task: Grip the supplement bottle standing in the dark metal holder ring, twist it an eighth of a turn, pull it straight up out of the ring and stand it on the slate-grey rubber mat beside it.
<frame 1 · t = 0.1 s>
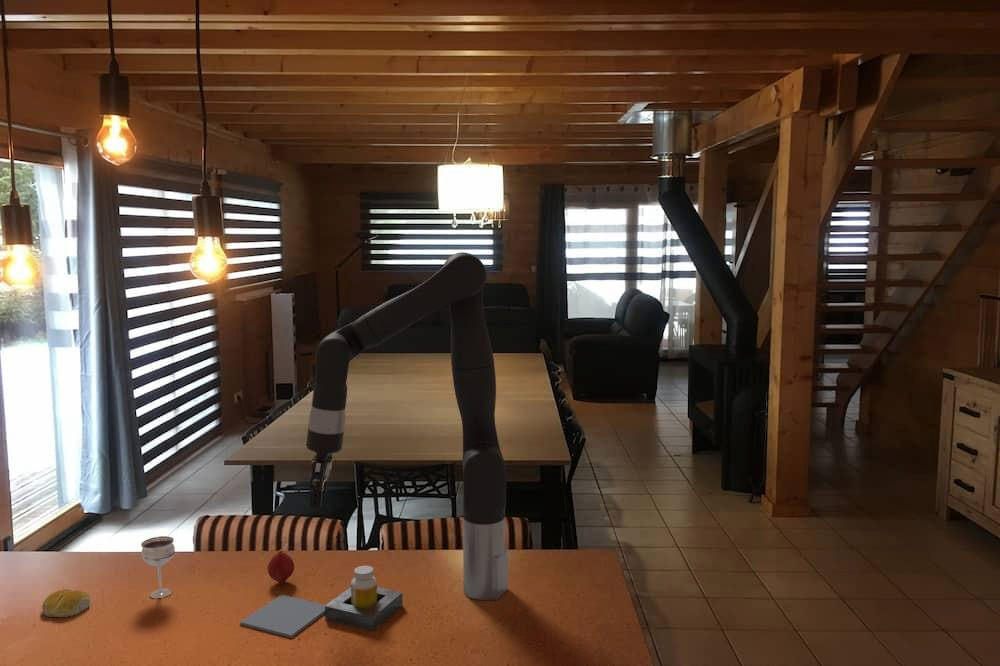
hand: (318, 500, 168), 22 cm above the table, tool pointing down, fingers open, 8 cm apart
holder ring: (364, 612, 165), on the table
rubber mat: (286, 616, 163), on the table
wineglass: (160, 594, 173), on the table
supplement bottle: (364, 613, 165), resting in holder ring
onion: (281, 583, 179), on the table
bread roll: (67, 610, 167), on the table
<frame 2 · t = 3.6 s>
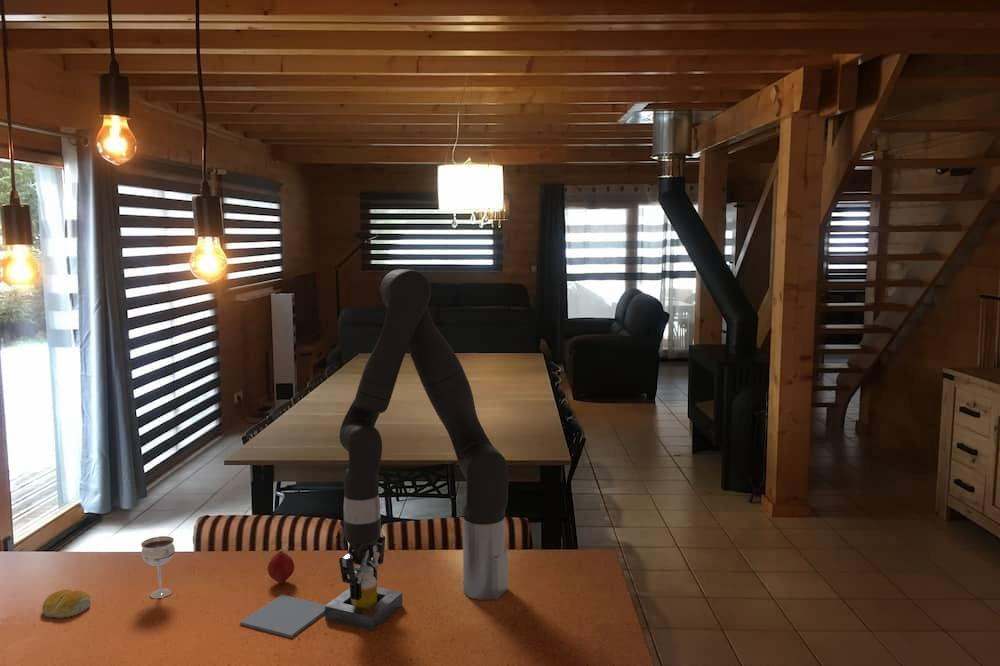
hand: (364, 592, 164), 4 cm above the table, tool pointing down, fingers closed on supplement bottle, 5 cm apart
supplement bottle: (364, 613, 165), resting in holder ring, touching gripper
everything else where it was.
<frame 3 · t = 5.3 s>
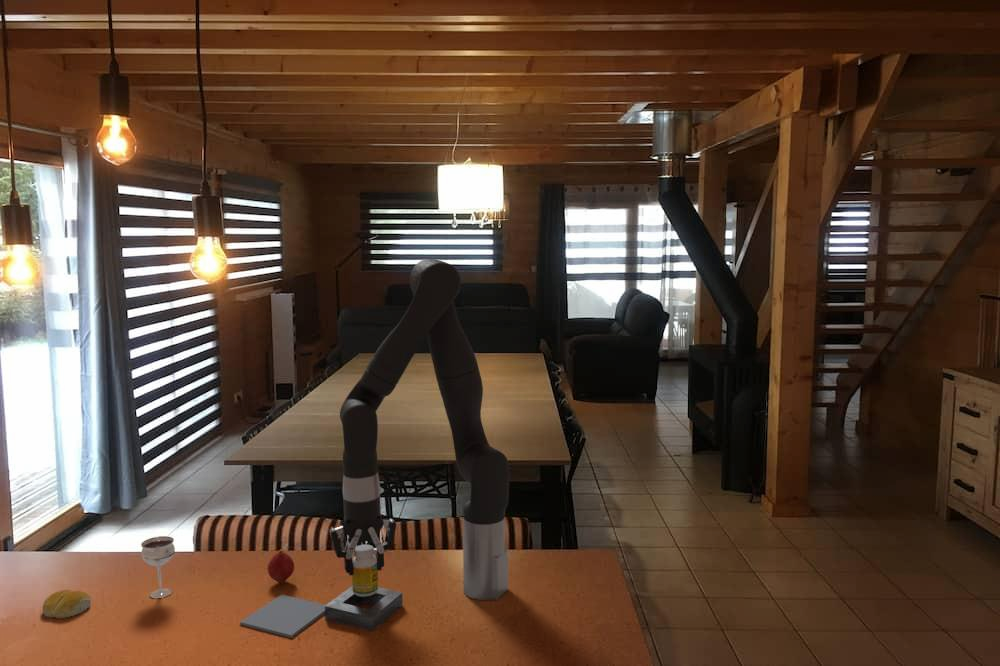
hand: (364, 571, 164), 9 cm above the table, tool pointing down, fingers closed on supplement bottle, 5 cm apart
supplement bottle: (365, 592, 165), point 4 cm above the table, touching gripper
everything else where it was.
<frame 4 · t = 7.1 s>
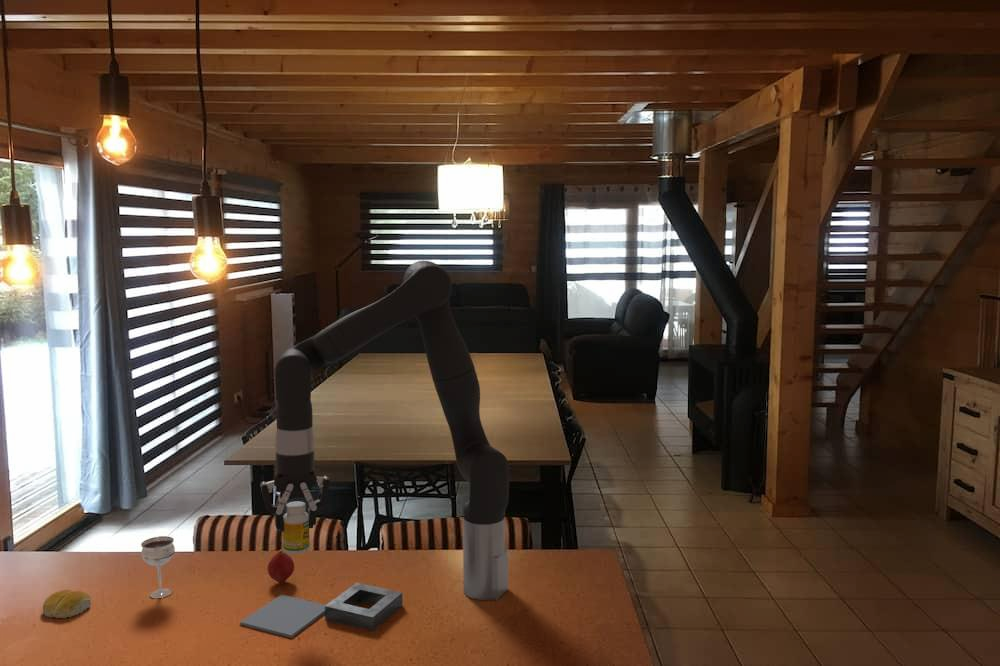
hand: (296, 528, 160), 19 cm above the table, tool pointing down, fingers closed on supplement bottle, 5 cm apart
supplement bottle: (296, 550, 161), point 15 cm above the table, touching gripper
everything else where it was.
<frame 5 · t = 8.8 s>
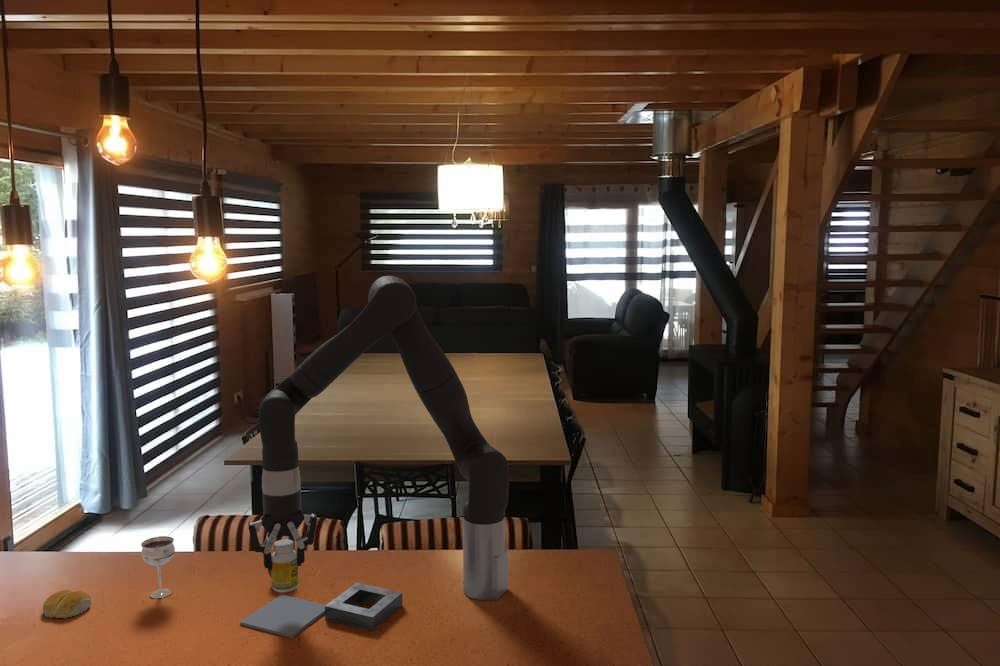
hand: (284, 566, 162), 11 cm above the table, tool pointing down, fingers closed on supplement bottle, 5 cm apart
supplement bottle: (285, 587, 162), point 6 cm above the table, touching gripper
everything else where it was.
when the fingers open (6 cm above the table, at t = 10.6 s): supplement bottle drops 1 cm, resting on rubber mat.
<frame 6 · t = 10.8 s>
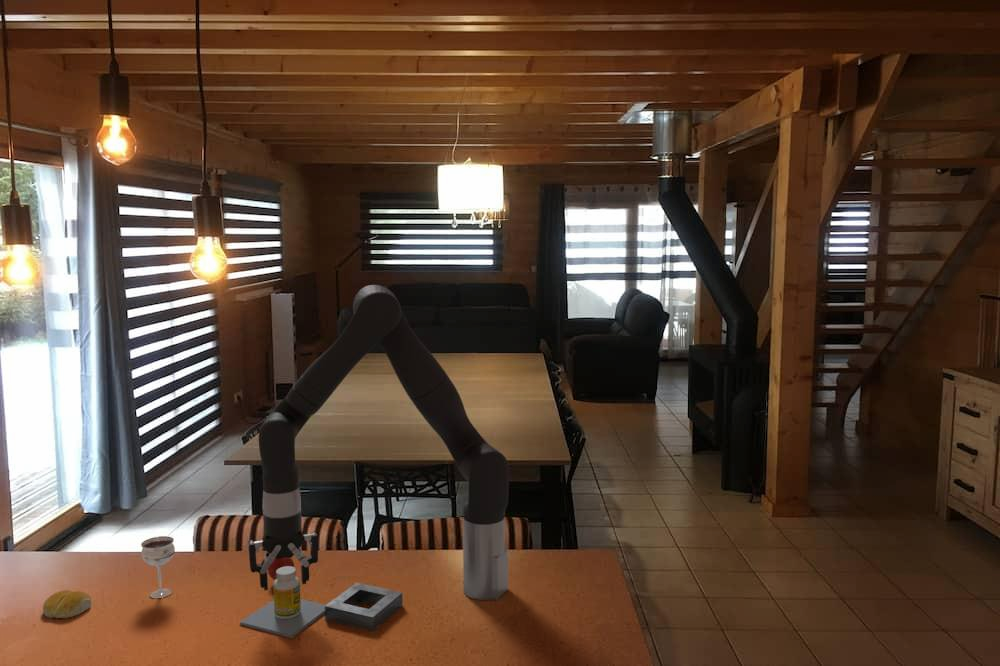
hand: (285, 585, 162), 7 cm above the table, tool pointing down, fingers open, 7 cm apart
supplement bottle: (287, 614, 163), resting on rubber mat
everything else where it was.
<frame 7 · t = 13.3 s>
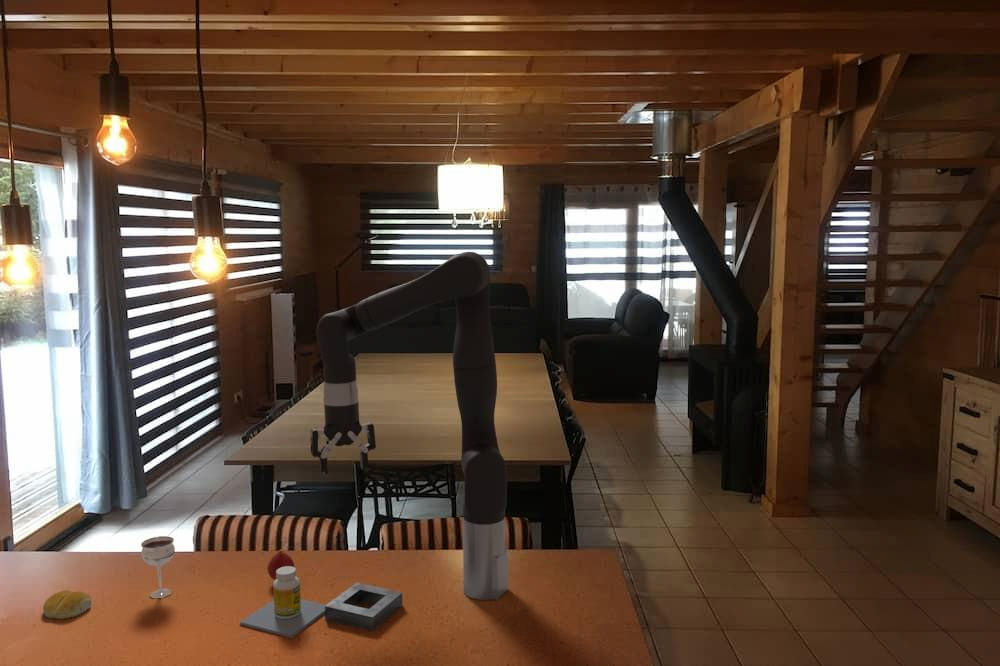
hand: (344, 470, 177), 26 cm above the table, tool pointing down, fingers open, 8 cm apart
nothing on the table moved.
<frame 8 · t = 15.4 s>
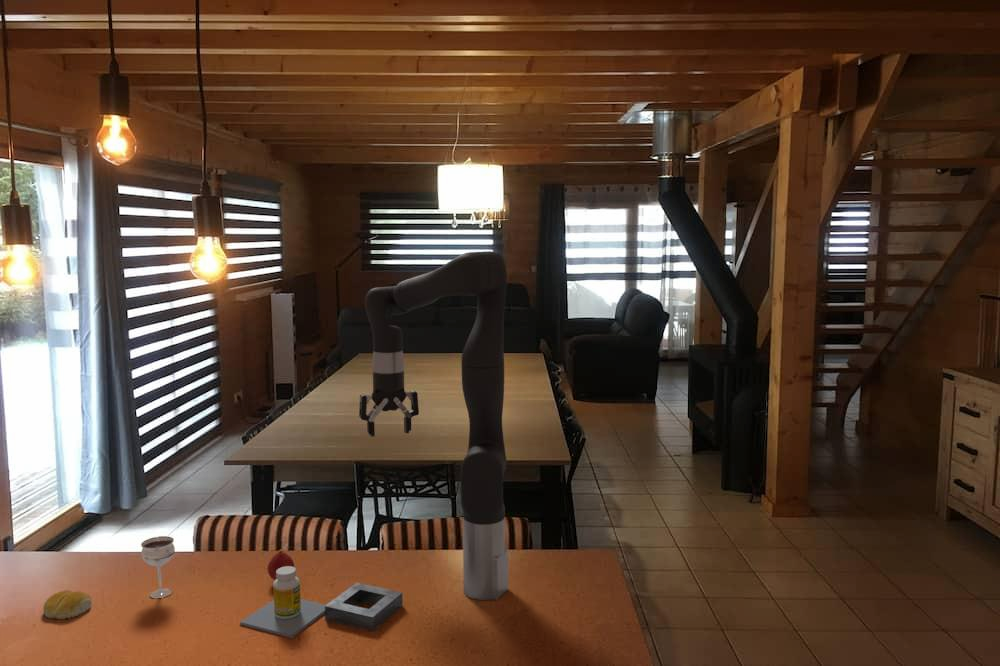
hand: (389, 434, 191), 30 cm above the table, tool pointing down, fingers open, 8 cm apart
nothing on the table moved.
at the end: supplement bottle inside the target area on the rubber mat (0.3 cm from its centre), point 0.4 cm above the rubber mat's base; supplement bottle tilted 0°; the gripper is holding nothing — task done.
